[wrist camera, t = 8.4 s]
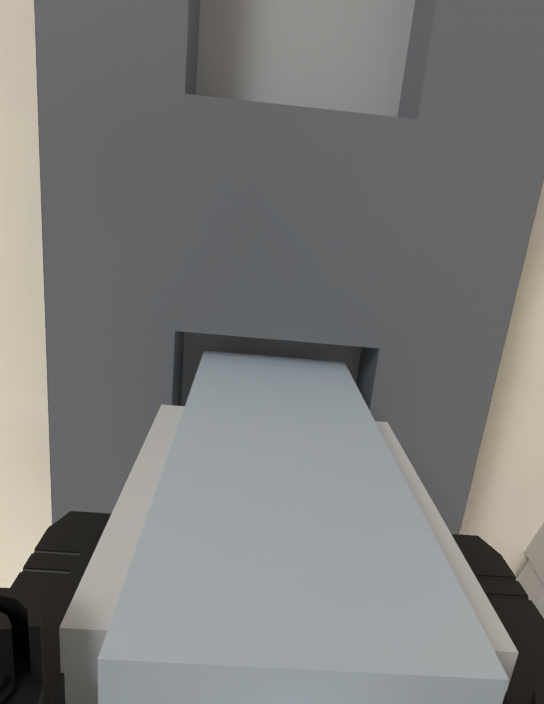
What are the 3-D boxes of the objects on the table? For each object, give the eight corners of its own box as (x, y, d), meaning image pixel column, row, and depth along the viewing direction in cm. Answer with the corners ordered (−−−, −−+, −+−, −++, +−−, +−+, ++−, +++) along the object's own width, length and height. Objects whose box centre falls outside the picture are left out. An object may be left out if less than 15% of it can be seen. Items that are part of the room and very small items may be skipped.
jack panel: (69, -275, 12) (20, -397, 9) (578, -201, 12) (656, -296, 10) (81, 518, 18) (53, 569, 15) (420, 540, 18) (444, 592, 16)
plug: (204, 350, 14) (67, 746, 4) (344, 362, 15) (554, 766, 4) (196, 475, 16) (75, 1033, 5) (326, 484, 16) (458, 1036, 5)
